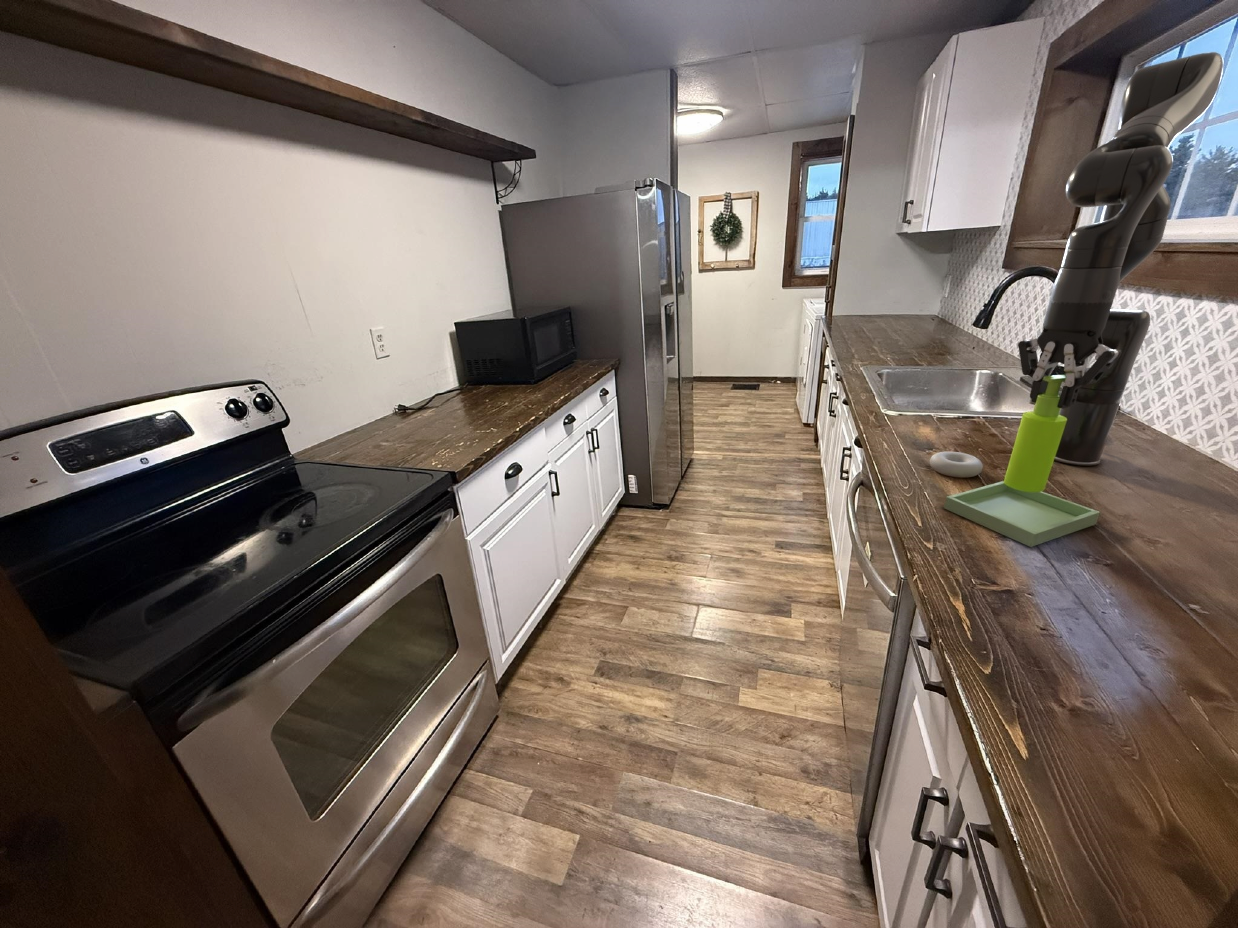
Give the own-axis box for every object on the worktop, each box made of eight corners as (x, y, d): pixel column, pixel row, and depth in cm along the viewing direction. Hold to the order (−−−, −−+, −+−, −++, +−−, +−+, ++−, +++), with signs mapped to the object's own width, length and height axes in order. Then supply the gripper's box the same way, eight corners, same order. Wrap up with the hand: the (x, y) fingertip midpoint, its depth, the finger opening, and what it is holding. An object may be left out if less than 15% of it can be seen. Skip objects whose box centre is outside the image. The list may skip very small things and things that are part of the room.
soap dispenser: (1059, 491, 87) (1097, 379, 79) (1019, 493, 87) (1052, 381, 79) (1033, 477, 92) (1067, 371, 85) (996, 478, 93) (1025, 373, 85)
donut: (937, 479, 108) (989, 480, 106) (940, 465, 107) (993, 466, 105) (921, 462, 117) (969, 463, 115) (924, 448, 116) (972, 449, 114)
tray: (1005, 490, 102) (1008, 479, 101) (1096, 524, 88) (1100, 511, 87) (943, 508, 96) (946, 496, 95) (1030, 547, 83) (1034, 534, 82)
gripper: (1153, 298, 73) (1114, 411, 79) (1046, 294, 85) (1020, 392, 91) (1122, 303, 70) (1084, 419, 77) (1017, 297, 82) (992, 398, 89)
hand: (1049, 404), depth 84 cm, fingers closed on soap dispenser, 3 cm apart
